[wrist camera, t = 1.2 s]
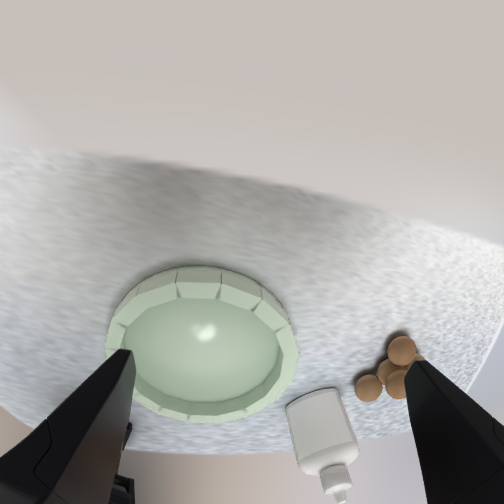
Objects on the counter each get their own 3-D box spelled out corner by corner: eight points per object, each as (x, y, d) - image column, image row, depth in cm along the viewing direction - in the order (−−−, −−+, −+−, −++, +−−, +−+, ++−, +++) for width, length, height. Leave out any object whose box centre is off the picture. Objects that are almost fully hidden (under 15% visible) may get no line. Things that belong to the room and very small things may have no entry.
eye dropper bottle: (289, 389, 29) (315, 498, 18) (343, 385, 30) (382, 484, 19) (282, 416, 31) (303, 516, 20) (332, 411, 31) (364, 504, 21)
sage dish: (244, 417, 30) (246, 435, 28) (99, 373, 26) (93, 391, 24) (325, 306, 25) (334, 324, 23) (141, 234, 22) (133, 248, 19)
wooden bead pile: (387, 393, 31) (403, 426, 27) (345, 385, 30) (360, 422, 25) (432, 340, 29) (455, 371, 24) (393, 326, 27) (417, 360, 23)
